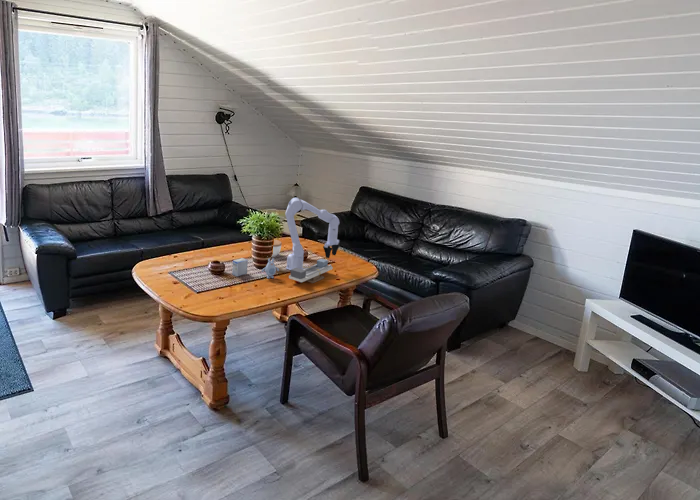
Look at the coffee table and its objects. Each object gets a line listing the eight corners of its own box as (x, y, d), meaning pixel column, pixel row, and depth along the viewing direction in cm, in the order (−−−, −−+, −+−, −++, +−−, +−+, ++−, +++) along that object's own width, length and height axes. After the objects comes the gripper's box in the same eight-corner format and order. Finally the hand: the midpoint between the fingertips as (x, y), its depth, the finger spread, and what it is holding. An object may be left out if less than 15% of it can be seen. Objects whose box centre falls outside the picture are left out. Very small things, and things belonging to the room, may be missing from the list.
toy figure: (262, 280, 291) (263, 260, 288) (259, 276, 297) (260, 256, 293) (280, 279, 296) (281, 259, 293) (277, 275, 302) (278, 256, 298)
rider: (316, 266, 310) (317, 260, 309) (321, 264, 314) (321, 258, 313) (322, 268, 308) (323, 262, 307) (327, 266, 312) (327, 260, 311)
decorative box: (270, 259, 328) (271, 243, 325) (257, 254, 335) (258, 238, 332) (284, 256, 338) (285, 240, 334) (271, 251, 345) (272, 235, 341)
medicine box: (241, 271, 302) (242, 257, 299) (247, 273, 299) (248, 259, 297) (231, 274, 295) (232, 260, 293) (237, 276, 293) (237, 262, 290)
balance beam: (287, 282, 292) (288, 268, 290) (318, 269, 319) (319, 256, 316) (302, 287, 287) (303, 273, 284) (333, 274, 314) (334, 261, 311)
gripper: (332, 238, 304) (330, 260, 308) (344, 234, 317) (342, 255, 321) (322, 236, 307) (320, 257, 311) (334, 232, 320) (332, 252, 324)
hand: (330, 256), depth 316 cm, fingers open, 7 cm apart
